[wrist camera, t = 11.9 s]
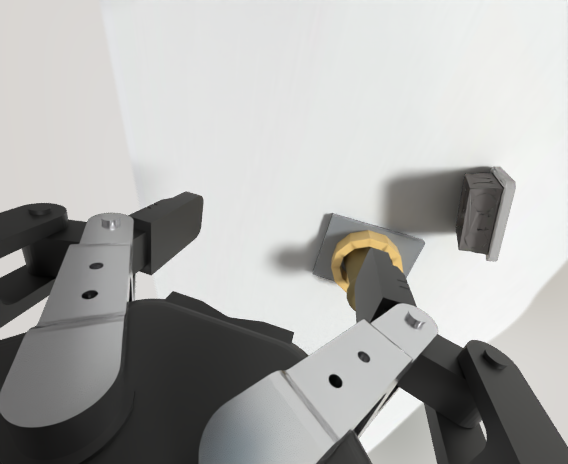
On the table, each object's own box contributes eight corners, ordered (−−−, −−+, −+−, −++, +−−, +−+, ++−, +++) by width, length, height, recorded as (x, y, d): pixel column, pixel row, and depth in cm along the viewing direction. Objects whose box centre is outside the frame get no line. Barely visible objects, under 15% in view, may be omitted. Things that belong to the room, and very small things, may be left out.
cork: (378, 278, 42) (388, 328, 32) (340, 271, 43) (339, 318, 33) (387, 245, 39) (401, 288, 30) (346, 239, 40) (347, 279, 31)
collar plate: (332, 213, 40) (331, 223, 37) (423, 239, 39) (431, 253, 35) (313, 270, 45) (310, 284, 42) (393, 295, 44) (397, 312, 40)
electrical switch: (484, 231, 37) (515, 265, 29) (442, 230, 39) (461, 262, 31) (499, 164, 33) (539, 181, 25) (452, 166, 35) (476, 183, 27)
